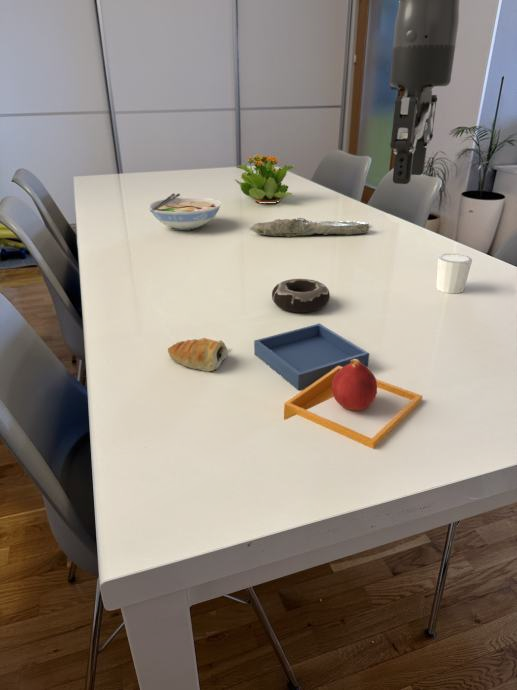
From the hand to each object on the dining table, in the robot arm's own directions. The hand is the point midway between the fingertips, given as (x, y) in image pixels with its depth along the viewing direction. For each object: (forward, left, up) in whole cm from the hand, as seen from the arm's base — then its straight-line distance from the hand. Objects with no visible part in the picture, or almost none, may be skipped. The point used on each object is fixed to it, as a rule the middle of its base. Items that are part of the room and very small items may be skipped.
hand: (408, 178), depth 71 cm
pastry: (+25, -18, -28) cm, 42 cm away
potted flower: (-63, -111, -28) cm, 131 cm away
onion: (+17, +8, -28) cm, 33 cm away
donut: (-4, -26, -28) cm, 39 cm away
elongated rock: (-44, -66, -28) cm, 84 cm away
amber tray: (+17, +8, -28) cm, 34 cm away
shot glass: (-35, -12, -28) cm, 47 cm away
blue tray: (+11, -7, -28) cm, 31 cm away
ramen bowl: (-19, -97, -28) cm, 103 cm away
